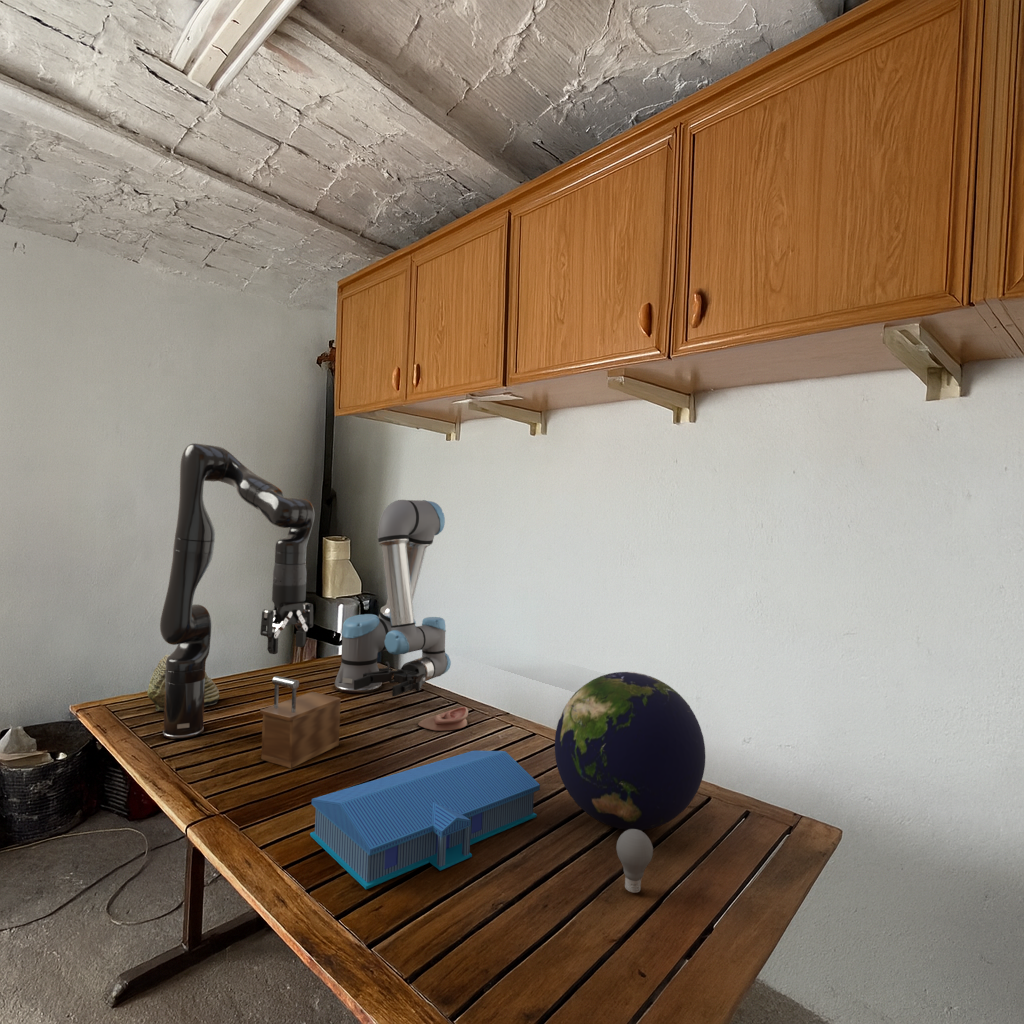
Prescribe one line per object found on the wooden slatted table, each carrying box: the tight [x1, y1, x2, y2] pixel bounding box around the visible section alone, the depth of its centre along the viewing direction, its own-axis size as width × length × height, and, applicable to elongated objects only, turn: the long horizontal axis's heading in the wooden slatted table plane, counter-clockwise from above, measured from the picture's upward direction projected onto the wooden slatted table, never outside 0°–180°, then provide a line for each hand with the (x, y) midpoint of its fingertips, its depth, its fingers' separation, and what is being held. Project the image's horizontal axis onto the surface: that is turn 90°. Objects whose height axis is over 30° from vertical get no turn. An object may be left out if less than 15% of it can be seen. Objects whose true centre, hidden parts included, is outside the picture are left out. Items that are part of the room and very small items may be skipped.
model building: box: [309, 750, 541, 890], centre depth 123 cm, size 39×24×10 cm, turn 132°
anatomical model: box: [417, 706, 469, 732], centre depth 179 cm, size 13×4×12 cm
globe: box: [554, 671, 706, 831], centre depth 128 cm, size 30×30×30 cm
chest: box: [260, 701, 342, 769], centre depth 156 cm, size 16×10×11 cm, turn 154°
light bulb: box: [615, 829, 654, 894], centre depth 106 cm, size 6×6×10 cm
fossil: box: [147, 654, 221, 712], centre depth 185 cm, size 9×18×15 cm, turn 132°
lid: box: [259, 675, 342, 721], centre depth 156 cm, size 17×10×8 cm, turn 154°
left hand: (287, 650), depth 150 cm, fingers open, 8 cm apart
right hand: (373, 688), depth 180 cm, fingers open, 13 cm apart
